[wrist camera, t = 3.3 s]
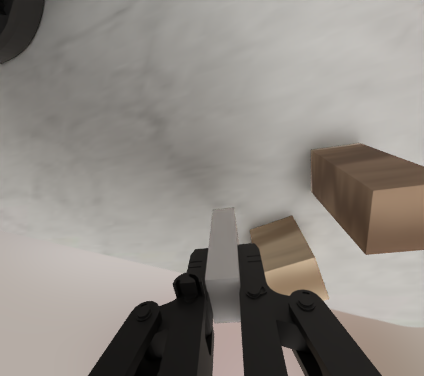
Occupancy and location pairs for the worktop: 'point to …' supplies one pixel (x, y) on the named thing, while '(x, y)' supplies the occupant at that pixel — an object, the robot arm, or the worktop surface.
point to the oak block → (287, 258)
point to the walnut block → (371, 196)
